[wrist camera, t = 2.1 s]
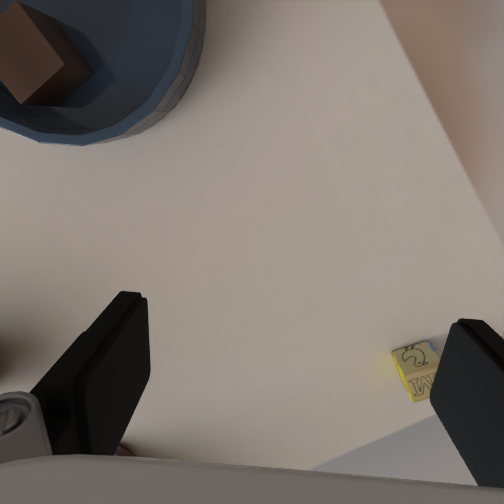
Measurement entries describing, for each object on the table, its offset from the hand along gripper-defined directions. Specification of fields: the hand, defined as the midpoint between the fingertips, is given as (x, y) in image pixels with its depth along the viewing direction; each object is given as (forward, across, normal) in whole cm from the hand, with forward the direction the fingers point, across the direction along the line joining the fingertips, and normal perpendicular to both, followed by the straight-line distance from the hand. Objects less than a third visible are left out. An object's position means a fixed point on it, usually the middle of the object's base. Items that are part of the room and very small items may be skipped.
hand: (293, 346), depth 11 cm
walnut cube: (+15, +15, -9) cm, 23 cm away
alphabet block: (+16, -12, +11) cm, 23 cm away
